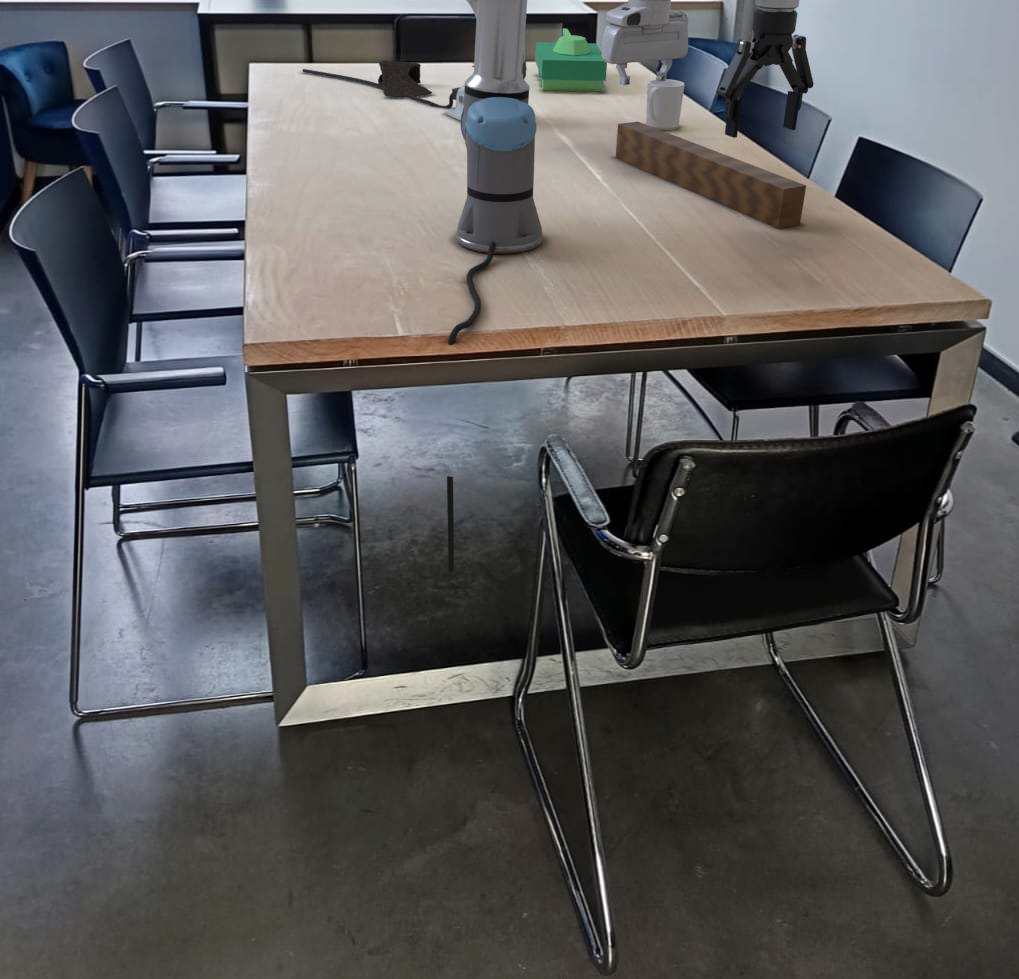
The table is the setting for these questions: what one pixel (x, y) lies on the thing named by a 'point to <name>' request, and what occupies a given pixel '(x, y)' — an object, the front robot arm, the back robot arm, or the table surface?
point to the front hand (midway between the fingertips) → (760, 132)
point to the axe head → (401, 79)
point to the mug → (664, 104)
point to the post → (712, 174)
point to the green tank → (570, 64)
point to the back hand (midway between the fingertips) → (642, 82)
